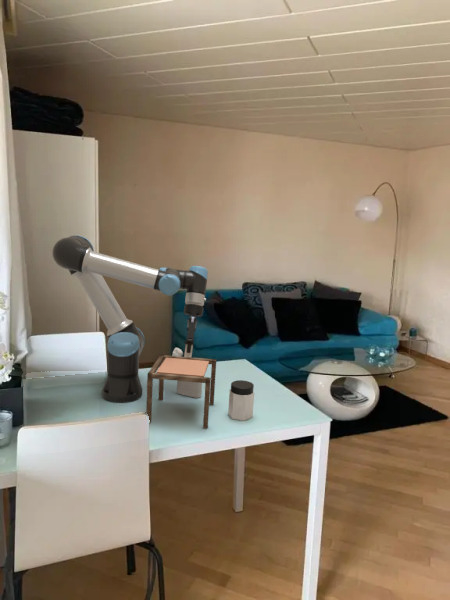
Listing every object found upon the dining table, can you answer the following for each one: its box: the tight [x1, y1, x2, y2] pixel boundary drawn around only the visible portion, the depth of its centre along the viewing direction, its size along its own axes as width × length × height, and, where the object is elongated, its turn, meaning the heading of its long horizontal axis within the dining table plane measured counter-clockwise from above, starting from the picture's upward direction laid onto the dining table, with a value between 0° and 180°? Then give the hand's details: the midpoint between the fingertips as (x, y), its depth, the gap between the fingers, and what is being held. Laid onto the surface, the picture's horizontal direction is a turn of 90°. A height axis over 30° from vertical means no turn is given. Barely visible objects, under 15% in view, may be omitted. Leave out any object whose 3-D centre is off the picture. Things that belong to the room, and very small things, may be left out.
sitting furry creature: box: [171, 347, 184, 357], centre depth 211 cm, size 10×9×12 cm
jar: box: [227, 380, 255, 422], centre depth 173 cm, size 9×8×12 cm
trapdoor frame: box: [145, 354, 217, 429], centre depth 172 cm, size 21×21×18 cm
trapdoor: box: [156, 358, 210, 377], centre depth 170 cm, size 16×16×1 cm
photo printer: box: [176, 381, 203, 399], centre depth 189 cm, size 10×4×12 cm, turn 65°
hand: (186, 362), depth 186 cm, fingers open, 9 cm apart
